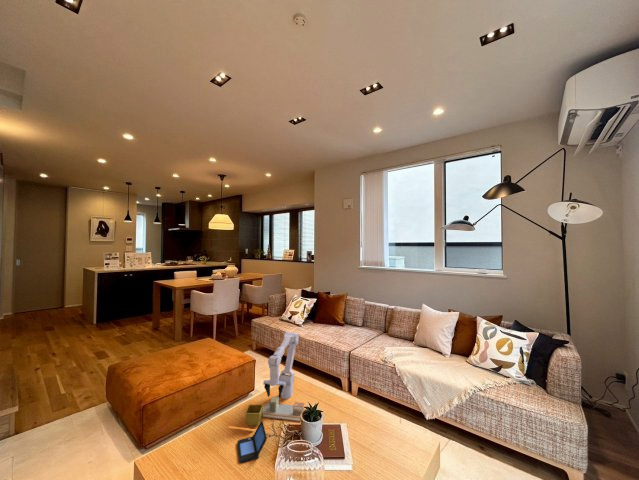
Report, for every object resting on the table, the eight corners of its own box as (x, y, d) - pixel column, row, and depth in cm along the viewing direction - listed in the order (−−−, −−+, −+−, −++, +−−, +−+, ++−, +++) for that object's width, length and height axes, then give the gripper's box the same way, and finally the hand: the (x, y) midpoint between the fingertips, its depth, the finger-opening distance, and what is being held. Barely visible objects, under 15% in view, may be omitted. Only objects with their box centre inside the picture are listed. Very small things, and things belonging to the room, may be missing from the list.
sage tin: (269, 411, 168) (269, 401, 169) (273, 405, 174) (273, 396, 174) (275, 412, 167) (275, 402, 168) (279, 406, 173) (279, 397, 174)
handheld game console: (237, 442, 142) (237, 425, 143) (262, 436, 147) (262, 419, 148) (239, 464, 128) (239, 445, 128) (267, 456, 133) (267, 437, 133)
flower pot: (259, 429, 153) (259, 413, 153) (244, 429, 153) (244, 413, 153) (263, 419, 162) (263, 404, 162) (249, 419, 162) (249, 404, 162)
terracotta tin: (294, 411, 168) (294, 402, 168) (304, 412, 167) (304, 403, 167) (293, 415, 164) (293, 405, 164) (302, 416, 162) (302, 406, 163)
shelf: (267, 404, 178) (267, 399, 178) (311, 408, 172) (310, 404, 172) (258, 418, 163) (258, 413, 163) (305, 423, 157) (305, 418, 158)
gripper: (261, 376, 169) (261, 398, 169) (283, 378, 166) (283, 400, 166) (265, 372, 176) (265, 392, 176) (286, 373, 173) (286, 394, 173)
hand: (274, 396), depth 171 cm, fingers open, 7 cm apart
